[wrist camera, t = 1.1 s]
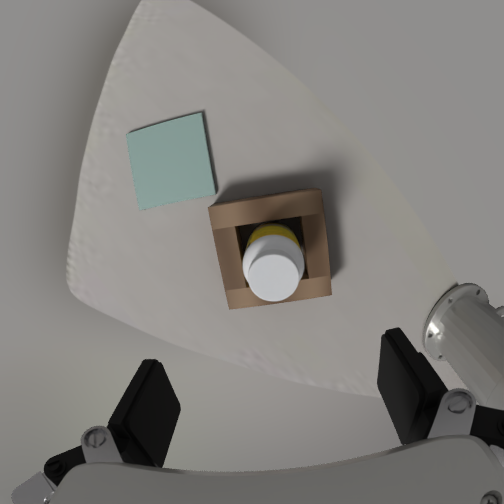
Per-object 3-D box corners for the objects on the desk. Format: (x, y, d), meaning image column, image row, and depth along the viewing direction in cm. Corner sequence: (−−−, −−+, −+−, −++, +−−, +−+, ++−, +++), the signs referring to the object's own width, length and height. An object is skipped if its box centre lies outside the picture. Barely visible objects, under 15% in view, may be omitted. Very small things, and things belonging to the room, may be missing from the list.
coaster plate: (202, 113, 28) (201, 112, 27) (216, 193, 30) (215, 194, 29) (127, 134, 28) (125, 134, 28) (141, 209, 31) (139, 210, 30)
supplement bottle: (244, 223, 31) (234, 247, 21) (295, 218, 30) (307, 240, 21) (250, 271, 32) (244, 312, 23) (299, 266, 32) (311, 306, 22)
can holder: (316, 187, 29) (321, 189, 26) (326, 284, 32) (331, 295, 29) (213, 203, 30) (207, 207, 27) (232, 297, 33) (229, 309, 30)
